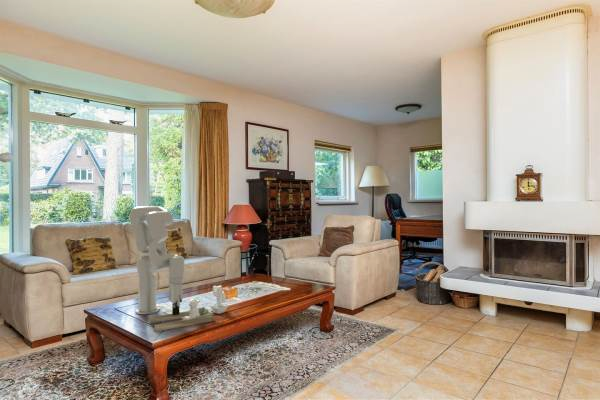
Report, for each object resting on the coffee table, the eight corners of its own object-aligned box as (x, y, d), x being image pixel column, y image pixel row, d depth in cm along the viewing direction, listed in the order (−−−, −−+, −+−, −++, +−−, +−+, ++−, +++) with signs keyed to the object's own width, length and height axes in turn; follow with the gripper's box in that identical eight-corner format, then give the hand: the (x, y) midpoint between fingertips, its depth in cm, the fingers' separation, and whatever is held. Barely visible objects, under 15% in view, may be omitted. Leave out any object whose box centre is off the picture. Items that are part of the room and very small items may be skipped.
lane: (149, 323, 191) (149, 315, 191) (204, 313, 207) (204, 306, 207) (154, 331, 180) (154, 323, 179) (213, 320, 196) (213, 313, 196)
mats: (150, 323, 190) (150, 323, 190) (161, 321, 193) (161, 321, 193) (155, 330, 181) (155, 330, 181) (167, 328, 184) (167, 327, 184)
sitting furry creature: (197, 316, 202) (197, 295, 202) (205, 320, 196) (206, 298, 196) (181, 320, 195) (181, 298, 195) (189, 325, 189) (189, 301, 189)
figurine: (219, 315, 204) (219, 288, 204) (208, 311, 210) (208, 285, 210) (229, 312, 210) (229, 286, 210) (218, 308, 216) (218, 283, 215)
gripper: (165, 277, 196) (164, 311, 197) (172, 284, 183) (172, 320, 184) (179, 275, 200) (179, 309, 201) (187, 282, 188) (187, 317, 188)
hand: (175, 314), depth 192 cm, fingers closed
